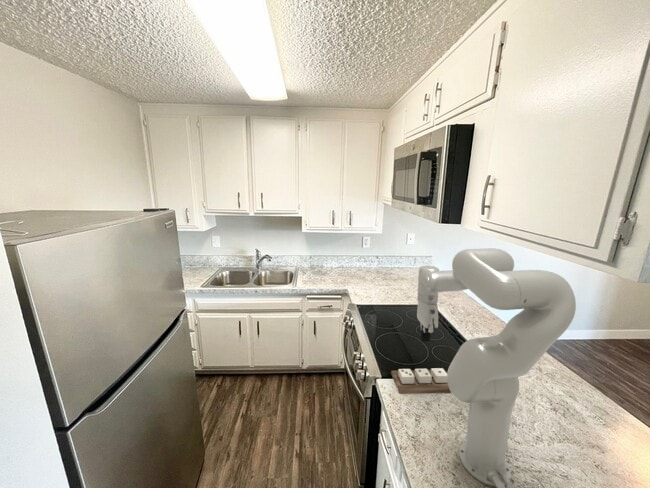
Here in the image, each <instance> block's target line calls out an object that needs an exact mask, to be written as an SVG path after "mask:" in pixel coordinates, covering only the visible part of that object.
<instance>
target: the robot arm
mask: <svg viewBox="0 0 650 488" xmlns="http://www.w3.org/2000/svg"><path fill="white" fill-rule="evenodd" d="M451 265H452V266H451V270H450V269H449V270H440V268H439V267H436V266H434V265H422V266H420V267H419V269H418V277H417V278H418V279H417V282H418V284H417V299H416V300H417V309H416V317H417V320H418V321H419V323H420V340H421V341H422V342H431V334H432V333H434V328H435V329H438V328H439V309H438V308H439V307H438V303H439V293H443V292H460V291H466V290H469V291H470V292H472V293H473V294H474V295H475V296H476V297H477V298H478V299H479V300H480V301H482V302H483V303H484V304H485V305H487V306H488V307H490V308H492V309H494V310H499V311H512V310H521V311H520V312H518V313H517V314H515V315H514V316H513V317H512V318H510V320H508V321H507V323H506V325H505V327H504V328H503V329H502V330H501V331H500V332H499V333H498V334H496V335H493V336H492V335H491V336H482V337H475V338H470V339H467V340H466V341H465V342H463V343H462V344H461V345H460V347H459V348H458V351H457V352H456V354H455V356H454V357H453V359H452V361H451V363H450V364H449V366H448V369H447V371H446V373H447V383H448V387H449V389H450V391H451V395H453V396H454V398H455V399H457V400H458V401H459V402H462V403H465V404H469V408H468V418H467V419H468V421H467V427H466V428H467V430H466V441H464V442H462V444H460V447H459V449H458V450H459V451H458V456H459V460H460V462H461V464H462V466H463V467H464V468H465V470H466V471H467V473H469V474H470V475H471V476H472V477H474V478H475V480H478V481H480V482H481V483H482V484H485V485H487V486H491V487H496V488H512V487H513V484H512V482H511V476H512V472H511V467H510V465H509V463H508V461H507V460H506V458H507V457H506V456H507V450H508V449H507V448H508V441H509V435H510V434H509V433H510V426H511V418H512V412H513V408H514V406H515V403H516V400H517V397H518V396H519V391H520V379H519V377H523V376H525V375H527V374H528V373H529V372H530V371H531V369H533V367H534V366H536V364H537V363H538V362H539V361H540V360H541V359H542V357H543V356H544V355H545V354H546V352H548V350H549V349H550V348H551V346H552V345H553V344H554V343H555V342H556V341H557V340H559V338H560V337H561V336H563V334H564V333H565V332H566V330H567V329H568V328H569V327H570V325H571V324H572V322H573V320H574V318H575V315H576V308H577V304H576V296H575V293H574V290H573V288H572V286H571V285H570V284H569V282H568V281H567V279H565V278H564V277H562V276H561V275H560V274H557V273H555V272H552V271H549V270H542V269H523V270H521V269H520V270H514V268H515V261H514V259H513V256H512V255H511V254H510V253H508V251H505V250H502V249H500V248H496V247H495V248H492V247H491V248H469V249H468V248H467V249H463V250H460V251H458V252H457V253H456V254H455V255H454V257H453V259H452V264H451ZM447 383H446V384H447Z"/></svg>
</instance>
